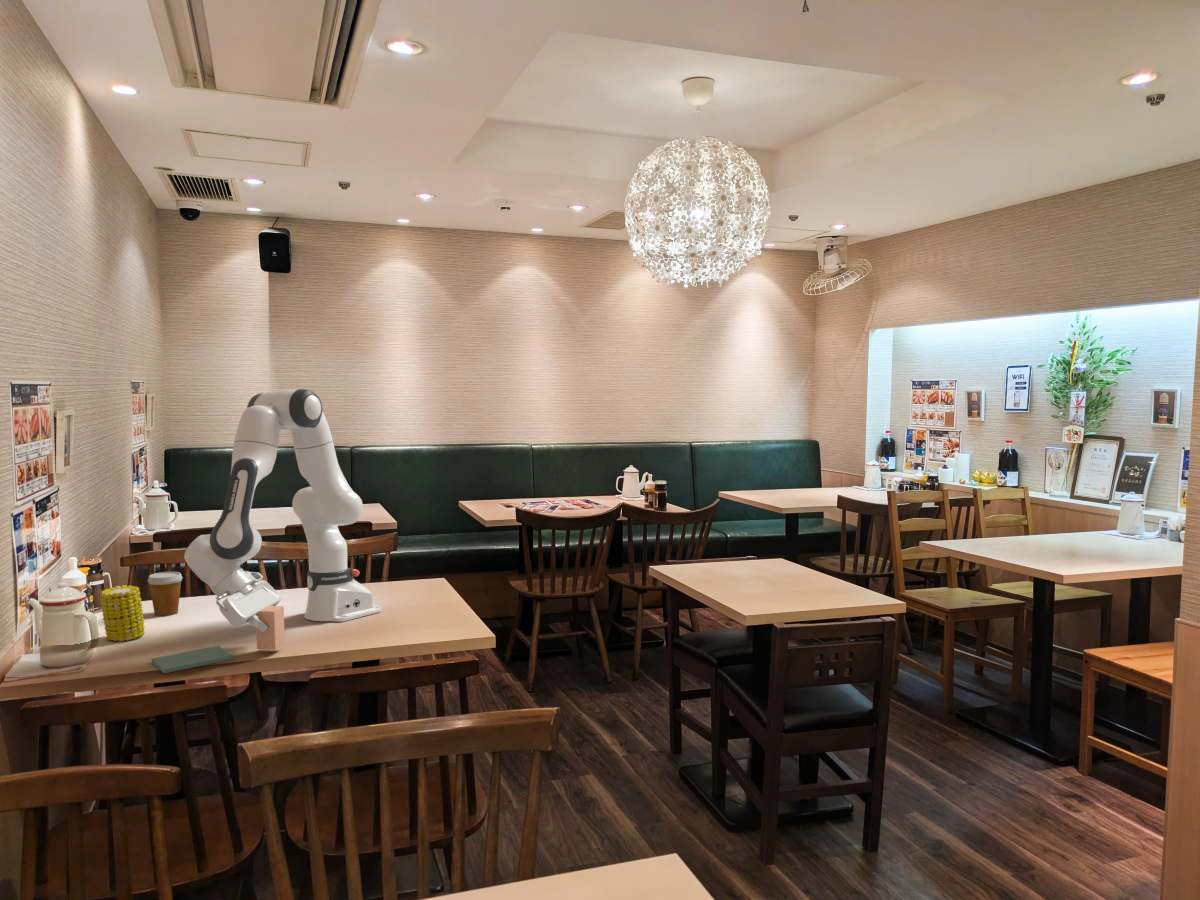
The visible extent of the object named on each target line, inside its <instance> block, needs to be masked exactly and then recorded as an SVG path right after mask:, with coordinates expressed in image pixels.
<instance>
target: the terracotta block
mask: <svg viewBox="0 0 1200 900" xmlns="http://www.w3.org/2000/svg"><path fill="white" fill-rule="evenodd" d="M284 609H285V608H284V606H283V605H282V606H281V605H276V606H268V607H266V608H264V609H262V610H260V611H259V613H257V614H256V615H257V616H258V619H259V620H261V621H262V622H266V623H267V624H268V625H269V628H268V629H267V630H266V631H264V632H262V631H261V630H260V629H259V628H257V627H255V629H256V630H255V634H256V649H257V650H266V651H267V650H272V651H273V650H275V651H276V650H278V649H279V648H280V647H282V646H284V645H285V644H286V637H285V633H286V632H285V613H284V611H285V610H284Z"/></svg>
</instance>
